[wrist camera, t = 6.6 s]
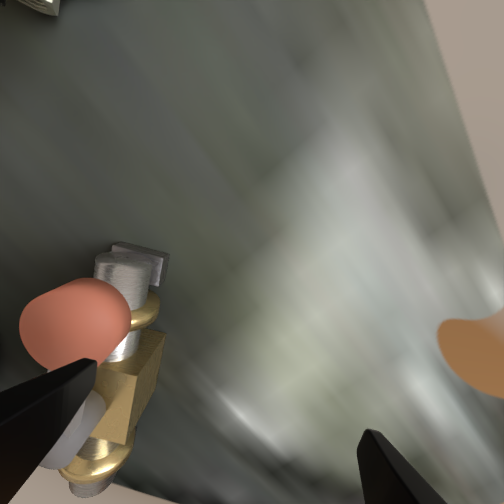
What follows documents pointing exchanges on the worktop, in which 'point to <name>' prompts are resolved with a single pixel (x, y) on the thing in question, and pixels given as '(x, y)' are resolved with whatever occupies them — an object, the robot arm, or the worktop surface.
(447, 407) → the worktop surface
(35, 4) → the ball valve
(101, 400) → the lever
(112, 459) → the valve body
